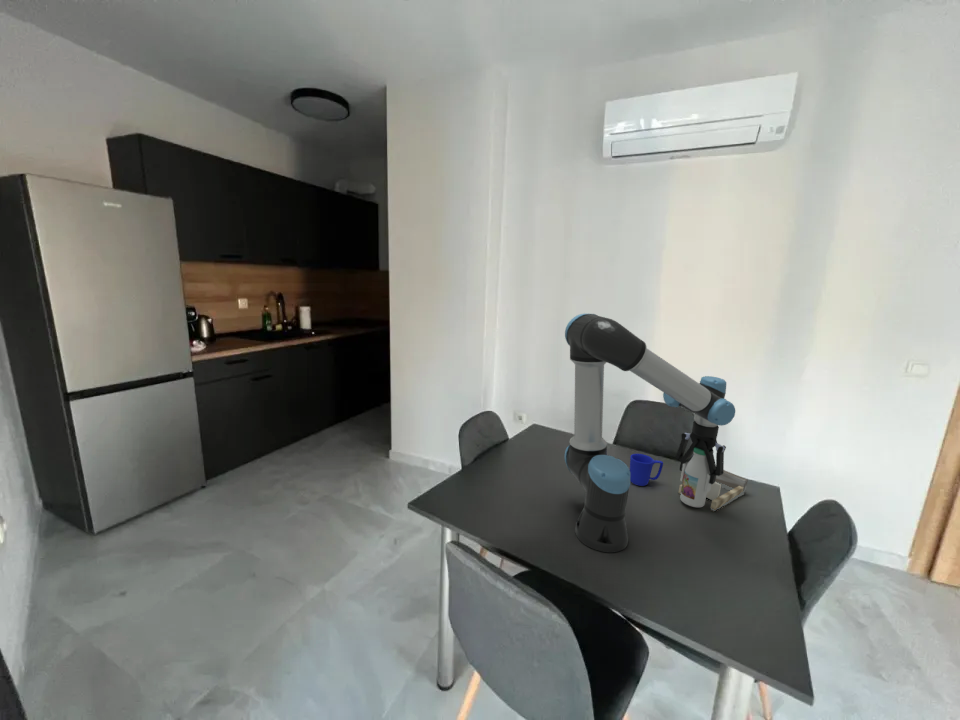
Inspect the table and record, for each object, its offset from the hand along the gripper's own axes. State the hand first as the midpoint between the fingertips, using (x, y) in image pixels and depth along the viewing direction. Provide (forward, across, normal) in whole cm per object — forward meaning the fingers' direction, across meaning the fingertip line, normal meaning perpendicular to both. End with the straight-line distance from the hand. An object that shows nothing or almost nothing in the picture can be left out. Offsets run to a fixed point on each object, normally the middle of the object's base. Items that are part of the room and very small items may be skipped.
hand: (694, 485), depth 140 cm
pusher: (+7, 0, -11) cm, 13 cm away
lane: (+7, 0, -14) cm, 16 cm away
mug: (+8, +18, +1) cm, 20 cm away
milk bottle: (+6, 0, 0) cm, 6 cm away
